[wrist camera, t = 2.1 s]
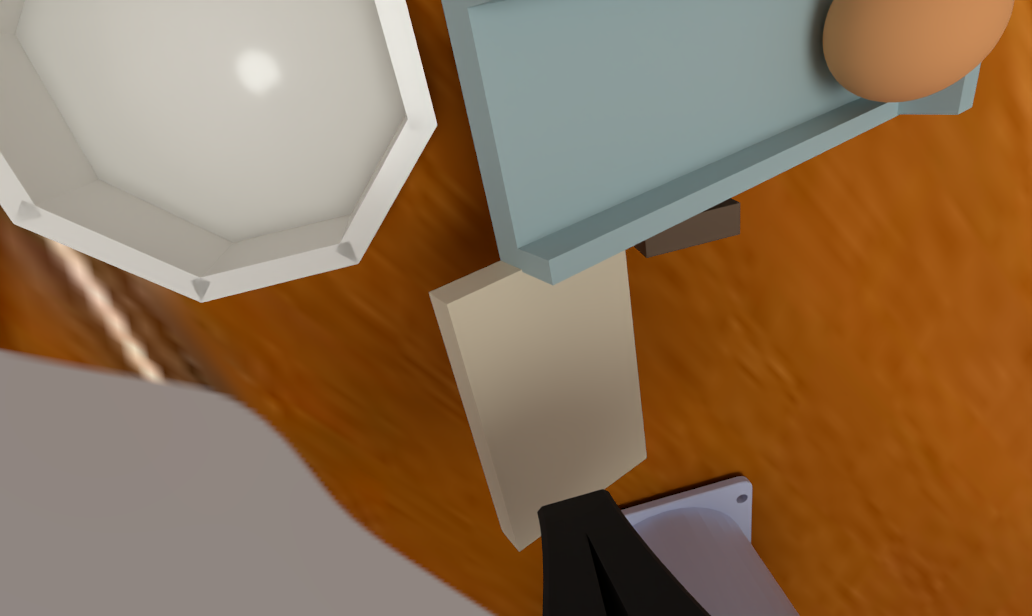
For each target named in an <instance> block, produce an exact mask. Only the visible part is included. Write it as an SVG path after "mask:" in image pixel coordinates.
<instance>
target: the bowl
mask: <svg viewBox="0 0 1032 616" xmlns="http://www.w3.org/2000/svg"><path fill="white" fill-rule="evenodd" d="M436 127H437V121H436V117H435V113H434V109H433V106H432V102H431V98H430V94H429V90H428V86H427V82H426V78H425V74H424V70H423V66H422V63H421V59H420V55H419V51H418V47H417V43H416V39H415V35H414V31H413V27H412V24H411V20H410V16H409V12H408V8H407V4H406V0H0V205H1V206H2V207H3V209H4V210H5V212H6V213H7V215H8V216H9V218H10V219H11V221H12V222H13V224H15V225H18V226H20V227H23V228H25V229H27V230H30V231H32V232H34V233H37V234H39V235H42V236H44V237H46V238H49V239H51V240H54V241H56V242H58V243H61V244H63V245H65V246H68V247H70V248H73V249H75V250H77V251H80V252H82V253H85V254H87V255H89V256H92V257H94V258H96V259H99V260H101V261H104V262H106V263H108V264H111V265H113V266H115V267H118V268H120V269H123V270H125V271H127V272H130V273H132V274H135V275H137V276H139V277H142V278H144V279H146V280H149V281H151V282H154V283H156V284H158V285H161V286H163V287H166V288H168V289H170V290H173V291H175V292H177V293H180V294H182V295H185V296H187V297H189V298H192V299H194V300H197V301H199V302H206V301H210V300H214V299H218V298H222V297H226V296H230V295H234V294H238V293H242V292H246V291H250V290H255V289H259V288H263V287H267V286H271V285H275V284H279V283H283V282H287V281H291V280H295V279H299V278H303V277H307V276H311V275H315V274H319V273H323V272H327V271H331V270H335V269H339V268H343V267H347V266H351V265H355V264H358V263H359V262H360V260H361V259H362V257H363V255H364V253H365V251H366V250H367V248H368V246H369V244H370V243H371V241H372V239H373V237H374V236H375V234H376V232H377V230H378V229H379V227H380V225H381V223H382V222H383V220H384V218H385V216H386V215H387V213H388V211H389V209H390V207H391V206H392V204H393V202H394V200H395V199H396V197H397V195H398V193H399V192H400V190H401V188H402V186H403V185H404V183H405V181H406V179H407V178H408V176H409V174H410V172H411V171H412V169H413V167H414V165H415V164H416V162H417V160H418V158H419V156H420V155H421V153H422V151H423V149H424V148H425V146H426V144H427V142H428V141H429V139H430V137H431V135H432V134H433V132H434V130H435V128H436Z"/></svg>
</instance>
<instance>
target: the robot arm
mask: <svg viewBox="0 0 1032 616" xmlns="http://www.w3.org/2000/svg"><path fill="white" fill-rule="evenodd" d="M537 514H538V518H539V523H540V530H541V538H542V551H543V616H799V614H798V613H797V611H796V610H795V608H794V607H793V605H792V604H791V602H790V601H789V599H788V598H787V596H786V595H785V593H784V592H783V590H782V589H781V588H780V586H779V585H778V583H777V582H776V580H775V579H774V577H773V576H772V574H771V573H770V571H769V570H768V568H767V567H766V565H765V564H764V562H763V561H762V560H761V558H760V557H759V555H758V554H757V552H756V551H755V549H754V548H753V546H752V545H751V521H752V484H751V482H750V481H749V480H748V479H747V478H746V477H744V476H738V477H734V478H731V479H727V480H724V481H720V482H717V483H713V484H710V485H706V486H703V487H699V488H696V489H692V490H689V491H685V492H682V493H678V494H675V495H671V496H668V497H664V498H661V499H657V500H654V501H651V502H647V503H644V504H640V505H637V506H633V507H630V508H626V509H623V510H620V508H619V507H618V506H617V504H616V503H615V501H614V500H613V498H612V497H611V495H610V493H609V492H608V491H606V490H604V489H601V490H597V491H594V492H590V493H587V494H583V495H580V496H576V497H573V498H569V499H566V500H562V501H559V502H555V503H551V504H548V505H544V506H542V507H541V508H540V509H539V510H538V512H537Z"/></svg>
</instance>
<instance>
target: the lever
mask: <svg viewBox="0 0 1032 616" xmlns="http://www.w3.org/2000/svg"><path fill="white" fill-rule="evenodd" d="M441 1H442V5H443V9H444V14H445V18H446V23H447V27H448V31H449V36H450V40H451V45H452V49H453V53H454V58H455V62H456V67H457V71H458V75H459V80H460V84H461V88H462V93H463V97H464V102H465V106H466V110H467V115H468V119H469V124H470V128H471V132H472V137H473V141H474V146H475V150H476V154H477V159H478V163H479V167H480V172H481V176H482V181H483V185H484V189H485V194H486V198H487V203H488V207H489V211H490V216H491V220H492V225H493V229H494V233H495V238H496V242H497V246H498V251H499V255H500V260H501V261H498V262H496V263H494V264H492V265H489V266H487V267H485V268H483V269H480V270H478V271H476V272H474V273H471V274H469V275H467V276H465V277H462V278H460V279H458V280H456V281H453V282H451V283H449V284H447V285H444V286H442V287H440V288H438V289H435V290H433V291H431V292H429V295H430V299H431V302H432V305H433V308H434V312H435V315H436V318H437V321H438V325H439V328H440V331H441V334H442V338H443V341H444V344H445V347H446V351H447V354H448V357H449V360H450V363H451V367H452V370H453V373H454V376H455V380H456V383H457V386H458V389H459V393H460V396H461V399H462V402H463V406H464V409H465V412H466V415H467V419H468V422H469V425H470V428H471V432H472V435H473V438H474V441H475V445H476V448H477V451H478V454H479V458H480V461H481V464H482V467H483V470H484V474H485V477H486V480H487V483H488V487H489V490H490V493H491V496H492V500H493V503H494V506H495V509H496V513H497V516H498V519H499V522H500V526H501V529H502V531H503V533H504V534H505V535H506V536H507V538H508V539H509V540H510V541H511V542H512V544H513V545H514V546H515V547H516V548H517V550H518V551H519V552H520V551H521V550H522V549H524V548H525V547H527V546H528V545H529V544H531V543H532V542H533V541H535V540H536V539H537V538H539V537H540V536H541V530H540V523H539V518H538V514H537V512H538V510H539V509H540V508H541V507H542V506H544V505H548V504H551V503H555V502H559V501H562V500H566V499H569V498H573V497H576V496H580V495H583V494H587V493H590V492H594V491H597V490H601V489H605V488H607V487H608V486H609V485H611V484H612V483H613V482H615V481H616V480H617V479H619V478H620V477H622V476H623V475H624V474H626V473H627V472H628V471H630V470H631V469H632V468H634V467H635V466H636V465H638V464H639V463H641V462H642V461H643V460H645V459H646V458H647V454H646V445H645V435H644V426H643V416H642V406H641V397H640V387H639V378H638V368H637V359H636V349H635V340H634V330H633V320H632V311H631V301H630V292H629V282H628V273H627V263H626V253H625V250H626V249H628V248H630V247H632V246H634V245H636V244H638V243H640V242H642V241H644V240H646V239H648V238H650V237H652V236H654V235H656V234H658V233H660V232H663V231H665V230H667V229H669V228H671V227H673V226H675V225H677V224H679V223H681V222H683V221H685V220H687V219H689V218H691V217H693V216H695V215H697V214H699V213H701V212H703V211H705V210H707V209H709V208H711V207H713V206H715V205H717V204H719V203H721V202H723V201H725V200H727V199H729V198H731V197H734V196H736V195H738V194H740V193H742V192H744V191H746V190H748V189H750V188H752V187H754V186H756V185H758V184H760V183H762V182H764V181H766V180H768V179H770V178H772V177H774V176H776V175H778V174H780V173H782V172H784V171H786V170H788V169H790V168H792V167H794V166H796V165H798V164H800V163H802V162H804V161H807V160H809V159H811V158H813V157H815V156H817V155H819V154H821V153H823V152H825V151H827V150H829V149H831V148H833V147H835V146H837V145H839V144H841V143H843V142H845V141H847V140H849V139H851V138H853V137H855V136H857V135H859V134H861V133H863V132H865V131H867V130H869V129H871V128H873V127H875V126H877V125H880V124H882V123H884V122H886V121H888V120H890V119H892V118H894V117H896V116H898V115H900V114H945V115H958V114H960V113H962V112H964V111H965V110H967V109H969V108H971V107H972V104H973V99H974V94H975V90H976V85H977V80H978V75H979V70H980V65H981V63H980V64H979V65H978V66H977V67H975V68H974V69H973V70H972V71H971V72H969V73H968V74H967V75H966V76H964V77H963V78H962V79H960V80H959V81H957V82H955V83H954V84H952V85H950V86H949V87H947V88H945V89H943V90H941V91H939V92H936V93H934V94H932V95H929V96H926V97H923V98H919V99H915V100H911V101H905V102H886V103H885V102H878V101H871V100H868V99H864V98H861V97H859V96H857V95H855V94H853V93H851V92H849V91H848V90H846V89H845V88H844V87H843V86H842V85H840V84H839V83H838V82H837V81H836V79H835V78H834V76H833V75H832V73H831V72H830V70H829V68H828V66H827V63H826V60H825V57H824V52H823V29H824V24H825V20H826V16H827V13H828V10H829V8H830V5H831V3H832V1H833V0H441Z"/></svg>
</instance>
